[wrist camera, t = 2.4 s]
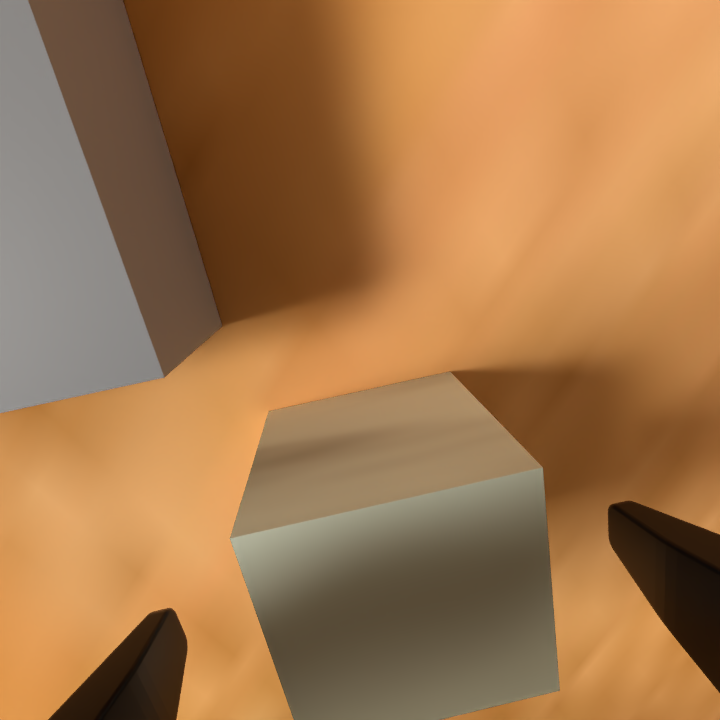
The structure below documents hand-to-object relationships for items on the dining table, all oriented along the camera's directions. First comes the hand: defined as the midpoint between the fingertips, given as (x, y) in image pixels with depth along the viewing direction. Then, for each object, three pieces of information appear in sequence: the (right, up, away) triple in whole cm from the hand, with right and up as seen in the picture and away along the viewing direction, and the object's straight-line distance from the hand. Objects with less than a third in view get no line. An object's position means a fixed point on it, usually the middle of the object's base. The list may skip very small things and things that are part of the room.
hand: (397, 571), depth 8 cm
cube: (0, +1, +4) cm, 4 cm away
